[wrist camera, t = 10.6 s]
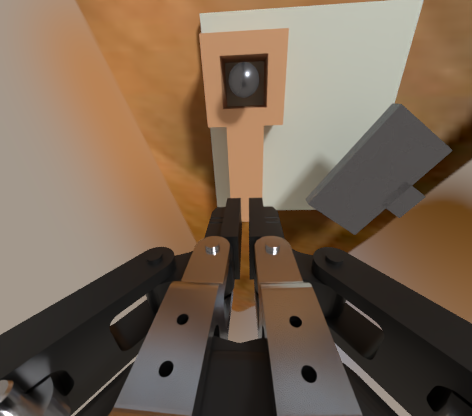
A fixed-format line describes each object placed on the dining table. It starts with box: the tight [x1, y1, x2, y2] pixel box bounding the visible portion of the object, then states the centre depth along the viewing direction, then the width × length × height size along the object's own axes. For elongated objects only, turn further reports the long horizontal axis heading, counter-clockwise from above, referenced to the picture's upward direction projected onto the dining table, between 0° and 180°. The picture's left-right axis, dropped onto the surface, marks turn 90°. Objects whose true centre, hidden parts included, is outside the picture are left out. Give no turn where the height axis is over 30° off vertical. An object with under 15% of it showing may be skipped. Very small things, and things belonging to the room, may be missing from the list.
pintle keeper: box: [228, 62, 452, 235], centre depth 19 cm, size 13×16×7 cm
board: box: [200, 0, 423, 210], centre depth 21 cm, size 18×17×1 cm
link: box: [199, 28, 289, 222], centre depth 19 cm, size 15×6×4 cm, turn 2°
